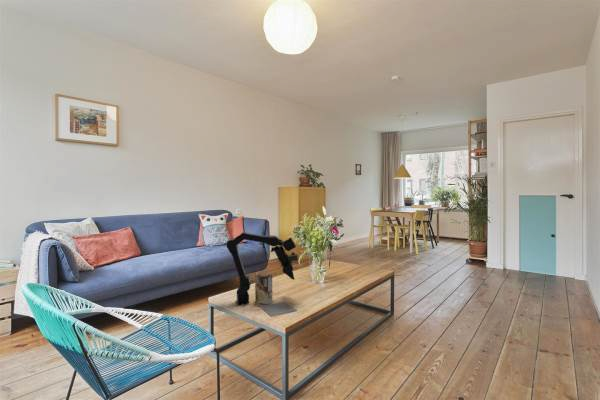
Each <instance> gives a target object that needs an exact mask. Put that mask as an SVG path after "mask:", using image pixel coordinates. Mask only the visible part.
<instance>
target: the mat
mask: <svg viewBox="0 0 600 400" xmlns="http://www.w3.org/2000/svg"><path fill="white" fill-rule="evenodd" d="M259 308H261V309H262V310H263V311H264V312H266V314H268V316H270V317H274V316H279V315H285V314H288V313H292V312H293V313H294V312H297V311H298V310H297V309H296V308H294V306H292V305H291V304H289V303H288V302H287V301H285V300H283V301H279V302H278V301H277V302H273V303H272V302H271V303H269V304H264V305H260V306H259Z"/></svg>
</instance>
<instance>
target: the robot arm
mask: <svg viewBox="0 0 600 400" xmlns="http://www.w3.org/2000/svg"><path fill="white" fill-rule="evenodd" d="M245 240H247V241H250V242H257V243H263V244H266V245H268V246H271V250H270V253H273V252H274V254H275V255H276V258H277V260H278V262H279V263H280V266H281V267H282V268H281V269H282V273H283V274H285V275H286V276H288V277H289V278H290V279H291V280H293V281H294V280H295V275H294V272H293V271H294V266H293V262H297V261H299V257H298V253H295V252H294V251H293V250H294V249H296V248H297V246H296V244H295V241H294V240H293V238H292V237H289V238H288V239H286V240H282V239H280V238H279V237H278V236H277V235H261V234H255V233H249V232H245V231H244V232H242V233H240V234H238V235H237V236H235V237H234V238H230V239H229V240H228V241H227V242H226V248H227V250H228V252H229V253H230V254H231V256H232V258H233V262H234V265H235V268H236V271H237V273H238V274H237V275H238V277H239V280H238V281H239V285H238V287H237V290H236V300H235V302H236V304H237V305H239V306H241V305H246V304H250V302H249V301H250V294H249V290H250V288H251V286H252V280H251V277H250V275H247V274H246V272H245V268H244V265H243V262H242V259H241V256H240V252H239V251H240V250H239V244H241V242H243V241H245ZM290 251H293V252H291V253H290V254H288V253H286V252H290Z"/></svg>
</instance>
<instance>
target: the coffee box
mask: <svg viewBox="0 0 600 400" xmlns="http://www.w3.org/2000/svg"><path fill="white" fill-rule="evenodd" d="M254 282H255V283H254V289H255V290H254V291H255V293H254V295H255V303H258V304H264V305H267V304H272V302H273V301H274V300H273V297H274V296H273V274H264V273H259V274H257V275H255V276H254Z"/></svg>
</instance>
